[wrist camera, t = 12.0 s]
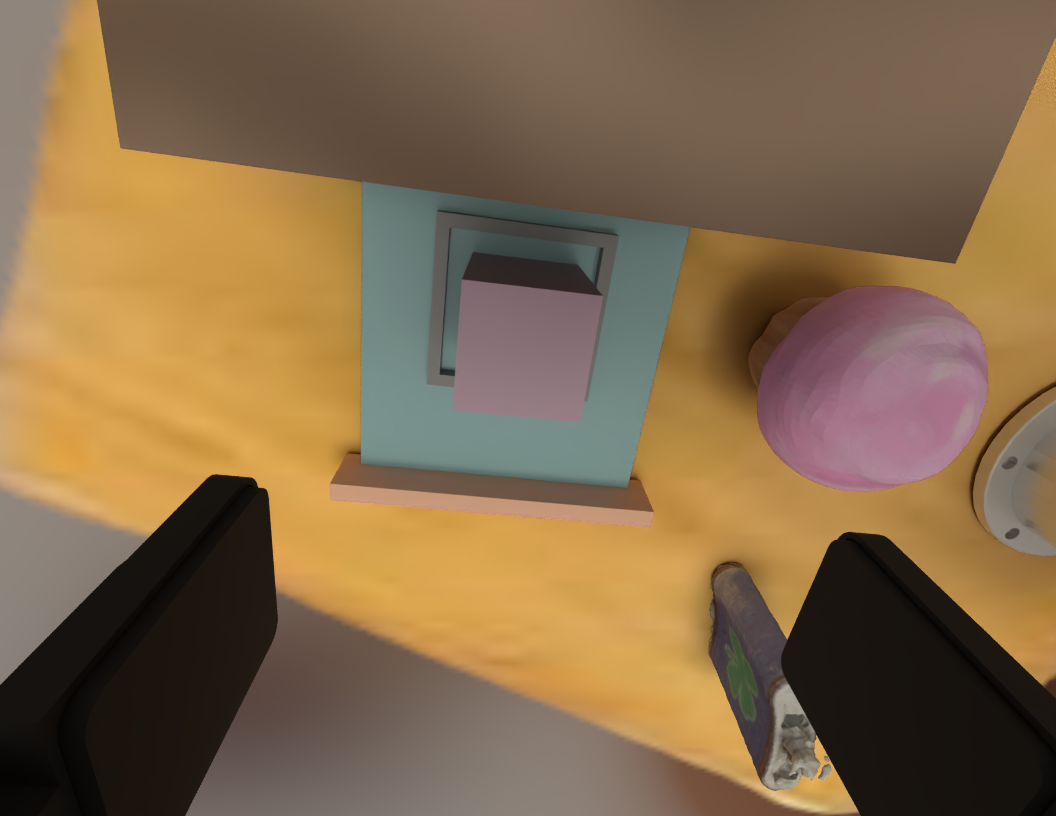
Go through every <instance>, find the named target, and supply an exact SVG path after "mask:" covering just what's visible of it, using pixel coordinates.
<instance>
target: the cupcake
mask: <svg viewBox="0 0 1056 816" xmlns="http://www.w3.org/2000/svg"><path fill="white" fill-rule="evenodd" d="M748 364H749V368H750V372H751V376H752V379H753V381H754V383H755V385H756V387H757V389H758V398H757V417H758V423H759V427H760V430H761V432H762V434H763V436H764V438H765V440H766V441H767V443H768V445H769V446H770V448H771V449H772V450H773V452H774V453H775V454H776V455H777V456H778V457H779V458H780V459H781V460H782V461H783V462H784V463H786V464H787V465H788V466H789V467H791V468H792V469H793V470H795V471H796V472H797V473H799V474H800V475H802V476H804V477H806V478H808V479H810V480H812V481H813V482H816V483H819V484H821V485H824V486H827V487H831V488H835V489H839V490H844V491H876V490H883V489H888V488H892V487H896V486H899V485H902V484H905V483H911V482H916V481H920V480H924V479H927V478H929V477H931V476H933V475H935V474H937V473H938V472H940V471H941V470H943V469H944V468H945V467H946V466H948V465H949V464H950V463H951V462H952V461H953V460H954V459H955V458H956V457H957V455H958V454H959V453H960V452H961V451H962V450H963V448H964V447H965V446H966V445H967V443H968V442H969V441H970V439H971V438H972V436H973V434H974V433H975V431H976V429H977V427H978V424H979V421H980V418H981V414H982V411H983V409H984V406H985V404H986V402H987V395H988V371H987V357H986V351H985V346H984V343H983V340H982V337H981V334H980V332H979V330H978V329H977V328H976V326H975V325H974V324H973V323H971V322H970V321H969V320H968V319H967V317H966V316H965V315H964V314H963V313H962V312H960V311H958V310H957V309H955V308H954V307H953V306H952V305H951V304H950V303H948V302H946V301H944V300H942V299H940V298H937V297H935V296H932V295H931V294H928V293H925V292H922V291H919V290H915V289H912V288H905V287H898V286H862V287H853V288H849V289H845V290H843V291H841V292H839V293H837V294H835V295H833V296H831V297H816V298H803V299H801V300H799V301H797V302H795V303H794V304H792V305H791V306H790V307H788V308H787V309H784V310H782V311H780V312H778V313H777V314H775V315H774V316H772V318H771V320H770V323H769V325H768V327H767V328H766V330H765V331H764V333H763V334H762V335H761V336H760V337H759V338H758V340H757V341H756V342H755V343H754V344H753V346H752V348H751V350H750V352H749V355H748Z"/></svg>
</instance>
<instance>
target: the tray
mask: <svg viewBox="0 0 1056 816" xmlns="http://www.w3.org/2000/svg"><path fill="white" fill-rule="evenodd" d="M689 230H690V227H687V226H679V225H672V224H665V223H658V222H650V221H643V220H636V219H629V218H621V217H614V216H607V215H600V214H593V213H585V212H578V211H571V210H564V209H556V208H549V207H542V206H535V205H527V204H520V203H513V202H506V201H499V200H491V199H484V198H477V197H470V196H462V195H455V194H448V193H441V192H433V191H426V190H419V189H412V188H405V187H397V186H390V185H383V184H376V183H368V182H362V334H361V455H360V454H349V453H347V454H346V456H345V458H344V460H343V461H342V463H341V465H340V467H339V469H338V470H337V472H336V474H335V476H334V478H333V479H332V481H331V483H330V500H334V501H345V502H357V503H369V504H381V505H392V506H404V507H416V508H428V509H439V510H451V511H463V512H475V513H486V514H498V515H510V516H521V517H533V518H545V519H557V520H568V521H580V522H592V523H604V524H615V525H627V526H639V527H650V526H651V522H652V518H653V514H654V511H653V509H652V506H651V504H650V502H649V499H648V497H647V495H646V493H645V490H644V488H643V486H642V484H641V481H639V480H629V479H630V475H631V471H632V467H633V463H634V458H635V454H636V450H637V446H638V442H639V438H640V434H641V429H642V425H643V421H644V417H645V413H646V409H647V404H648V400H649V396H650V392H651V388H652V384H653V380H654V375H655V371H656V367H657V363H658V359H659V355H660V350H661V346H662V342H663V338H664V334H665V330H666V326H667V321H668V317H669V313H670V309H671V305H672V301H673V297H674V292H675V288H676V284H677V280H678V276H679V272H680V267H681V263H682V259H683V255H684V251H685V247H686V243H687V238H688V234H689ZM473 252H478V253H486V254H494V255H502V256H510V257H519V258H527V259H535V260H543V261H551V262H559V263H568V264H576V265H579V266H580V268H581V269H582V270H583V271H584V273H585V274H586V275H587V276H588V278H589V279H590V280H591V281H592V283H593V284H594V285H595V286H596V288H597V289H598V290H599V291H600V293H601V294H602V295H603V300H602V305H601V311H600V316H599V322H598V327H597V333H596V338H595V344H594V349H593V355H592V361H591V366H590V372H589V377H588V383H587V388H586V394H585V399H584V405H583V410H582V416H581V421H580V423H579V422H568V421H558V420H547V419H537V418H527V417H516V416H506V415H495V414H485V413H474V412H464V411H454V410H452V407H453V394H454V380H455V367H456V353H457V339H458V326H459V312H460V299H461V285H462V278H463V275H464V273H465V270H466V268H467V265H468V263H469V260H470V258H471V255H472V253H473Z"/></svg>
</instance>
